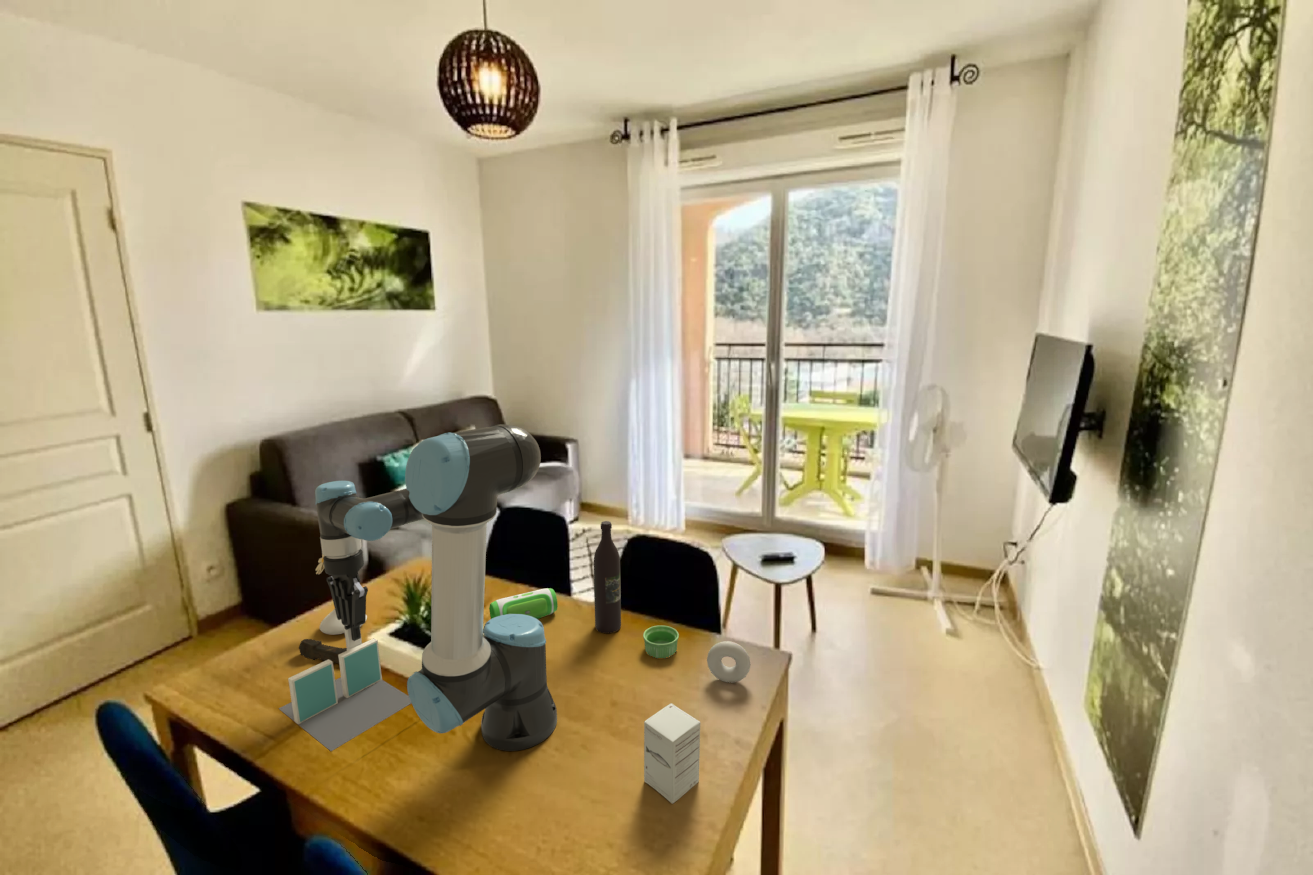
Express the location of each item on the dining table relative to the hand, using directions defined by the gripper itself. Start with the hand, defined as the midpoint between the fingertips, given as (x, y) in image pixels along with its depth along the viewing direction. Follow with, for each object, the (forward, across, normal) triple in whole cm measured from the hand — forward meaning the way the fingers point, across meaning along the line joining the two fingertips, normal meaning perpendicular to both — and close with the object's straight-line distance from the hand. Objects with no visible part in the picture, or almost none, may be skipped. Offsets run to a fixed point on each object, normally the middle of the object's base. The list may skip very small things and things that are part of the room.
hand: (354, 651), depth 127 cm
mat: (+9, -5, +5) cm, 11 cm away
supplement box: (+10, -74, -17) cm, 76 cm away
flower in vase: (+9, +28, -11) cm, 32 cm away
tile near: (+9, -2, +10) cm, 13 cm away
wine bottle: (+10, -31, -52) cm, 61 cm away
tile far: (+9, -2, 0) cm, 9 cm away
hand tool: (+10, +16, -1) cm, 19 cm away
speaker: (+10, -8, -42) cm, 44 cm away
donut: (+10, -69, -49) cm, 85 cm away
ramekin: (+10, -49, -51) cm, 71 cm away
